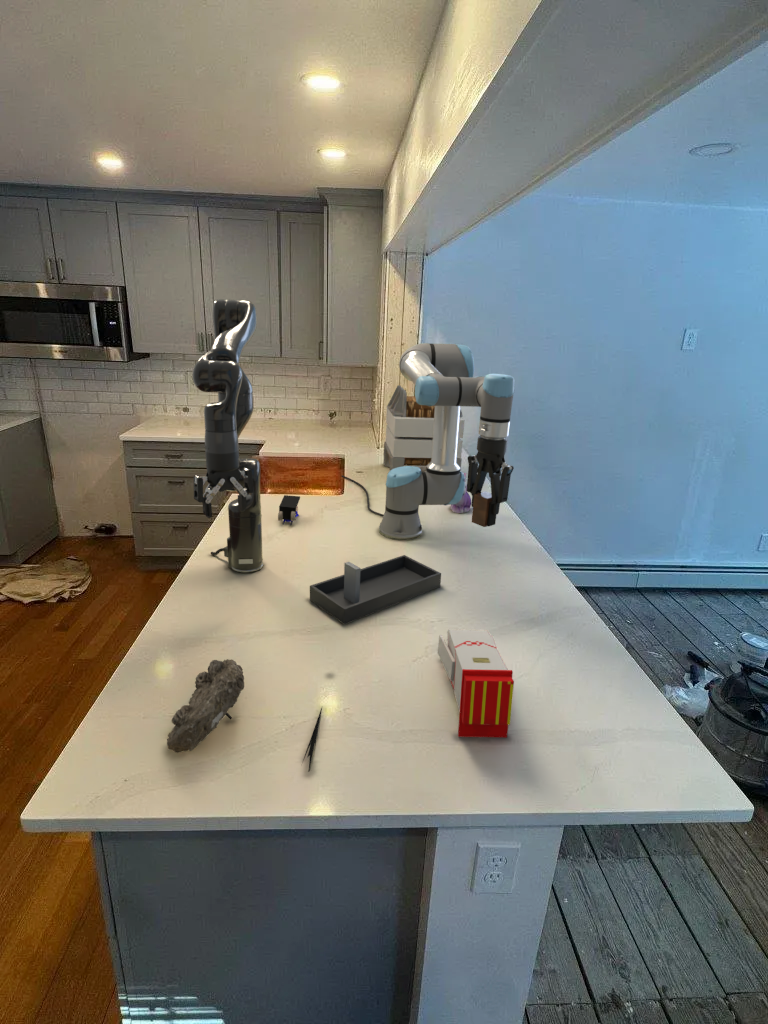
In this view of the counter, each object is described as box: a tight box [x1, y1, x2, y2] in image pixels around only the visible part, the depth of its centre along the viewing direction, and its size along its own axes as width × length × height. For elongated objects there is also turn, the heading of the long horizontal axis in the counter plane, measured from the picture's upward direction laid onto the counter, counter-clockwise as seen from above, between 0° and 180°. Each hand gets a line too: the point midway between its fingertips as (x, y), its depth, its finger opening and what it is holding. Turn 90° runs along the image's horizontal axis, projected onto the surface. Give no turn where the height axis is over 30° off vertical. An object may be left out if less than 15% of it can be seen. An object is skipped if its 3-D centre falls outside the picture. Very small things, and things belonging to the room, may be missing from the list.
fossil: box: [166, 658, 245, 754], centre depth 106 cm, size 22×10×15 cm
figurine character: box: [277, 494, 301, 526], centre depth 207 cm, size 7×8×15 cm
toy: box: [437, 628, 515, 738], centre depth 117 cm, size 12×13×30 cm
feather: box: [301, 673, 332, 771], centre depth 108 cm, size 2×28×2 cm
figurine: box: [449, 472, 472, 514], centre depth 224 cm, size 9×10×15 cm
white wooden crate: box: [383, 384, 465, 472], centre depth 268 cm, size 34×33×41 cm
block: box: [471, 491, 492, 528], centre depth 151 cm, size 4×4×8 cm
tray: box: [309, 554, 442, 625], centre depth 156 cm, size 16×34×11 cm, turn 131°
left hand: (225, 513), depth 138 cm, fingers open, 8 cm apart
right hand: (483, 521), depth 152 cm, fingers closed on block, 4 cm apart
